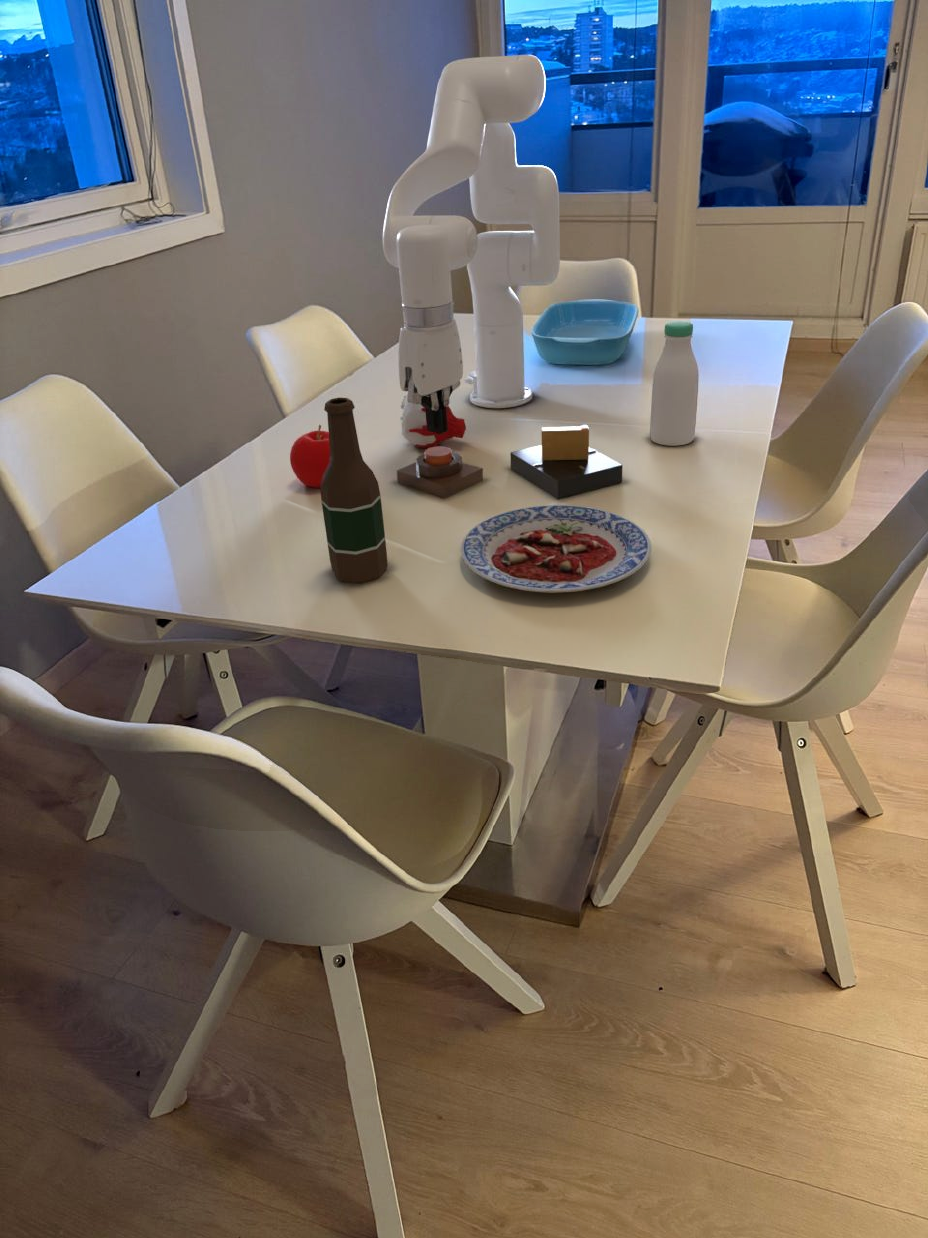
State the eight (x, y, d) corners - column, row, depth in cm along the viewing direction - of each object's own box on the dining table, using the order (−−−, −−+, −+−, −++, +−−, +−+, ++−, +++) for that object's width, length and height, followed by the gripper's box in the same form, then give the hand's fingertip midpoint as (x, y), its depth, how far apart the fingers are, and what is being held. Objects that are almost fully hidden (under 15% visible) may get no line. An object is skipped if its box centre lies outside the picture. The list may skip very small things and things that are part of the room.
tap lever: (541, 460, 152) (541, 429, 149) (541, 456, 154) (541, 425, 151) (588, 459, 152) (589, 428, 149) (588, 455, 153) (588, 424, 150)
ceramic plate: (601, 624, 114) (601, 602, 112) (425, 578, 126) (423, 559, 125) (679, 538, 132) (680, 519, 131) (518, 506, 145) (518, 488, 143)
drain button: (419, 462, 153) (418, 452, 152) (438, 454, 156) (437, 444, 155) (438, 468, 150) (438, 458, 149) (457, 459, 153) (457, 449, 152)
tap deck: (510, 469, 158) (510, 451, 156) (571, 454, 162) (571, 436, 161) (557, 499, 146) (557, 480, 145) (622, 482, 151) (622, 463, 149)
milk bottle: (694, 447, 162) (703, 329, 151) (648, 446, 163) (654, 329, 153) (694, 431, 168) (702, 317, 158) (650, 430, 170) (656, 317, 159)
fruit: (333, 496, 152) (325, 437, 147) (284, 491, 155) (274, 432, 150) (358, 474, 159) (351, 417, 154) (311, 470, 162) (302, 414, 157)
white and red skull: (407, 425, 178) (479, 443, 173) (377, 445, 169) (453, 464, 164) (408, 379, 173) (483, 395, 168) (378, 397, 164) (456, 415, 159)
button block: (397, 482, 155) (395, 460, 153) (435, 466, 161) (434, 443, 159) (445, 498, 149) (443, 475, 147) (483, 480, 154) (482, 457, 152)
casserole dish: (626, 372, 201) (627, 338, 197) (523, 370, 206) (522, 337, 202) (641, 328, 231) (643, 298, 227) (551, 327, 236) (551, 298, 233)
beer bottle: (332, 560, 133) (308, 393, 120) (388, 555, 133) (369, 388, 120) (330, 586, 126) (305, 413, 113) (388, 581, 126) (369, 407, 114)
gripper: (445, 300, 148) (452, 412, 158) (374, 322, 139) (387, 440, 149) (480, 306, 143) (486, 421, 153) (409, 330, 134) (420, 450, 144)
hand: (437, 430), depth 151 cm, fingers closed
